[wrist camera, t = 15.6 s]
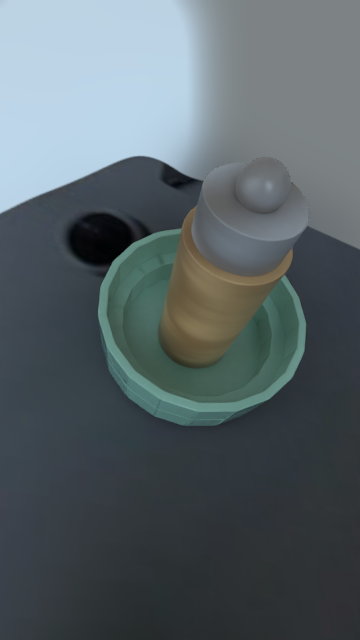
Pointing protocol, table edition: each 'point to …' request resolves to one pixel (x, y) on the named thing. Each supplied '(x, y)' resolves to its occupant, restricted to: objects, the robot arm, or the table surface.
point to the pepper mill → (229, 258)
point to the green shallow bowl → (176, 380)
